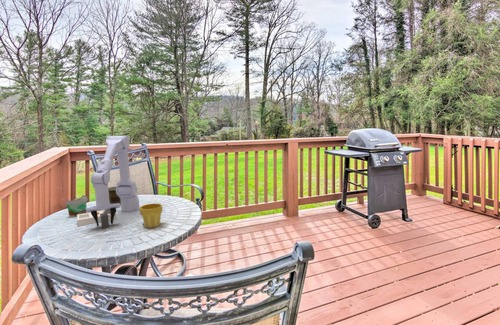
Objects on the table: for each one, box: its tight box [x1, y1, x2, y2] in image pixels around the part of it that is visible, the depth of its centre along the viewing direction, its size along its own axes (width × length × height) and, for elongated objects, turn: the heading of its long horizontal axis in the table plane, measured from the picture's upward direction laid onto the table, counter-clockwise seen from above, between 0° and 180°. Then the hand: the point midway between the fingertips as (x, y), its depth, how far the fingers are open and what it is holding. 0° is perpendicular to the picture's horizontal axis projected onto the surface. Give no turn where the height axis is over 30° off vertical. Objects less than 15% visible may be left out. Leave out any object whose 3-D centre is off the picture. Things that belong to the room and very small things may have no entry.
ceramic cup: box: [108, 186, 121, 205], centre depth 178 cm, size 13×10×10 cm
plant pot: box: [139, 202, 163, 228], centre depth 141 cm, size 10×10×10 cm
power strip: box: [76, 210, 117, 227], centre depth 148 cm, size 17×10×5 cm, turn 122°
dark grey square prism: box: [100, 213, 110, 229], centre depth 138 cm, size 3×4×7 cm
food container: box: [65, 194, 88, 218], centre depth 158 cm, size 12×6×10 cm, turn 168°
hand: (105, 224), depth 139 cm, fingers open, 5 cm apart
